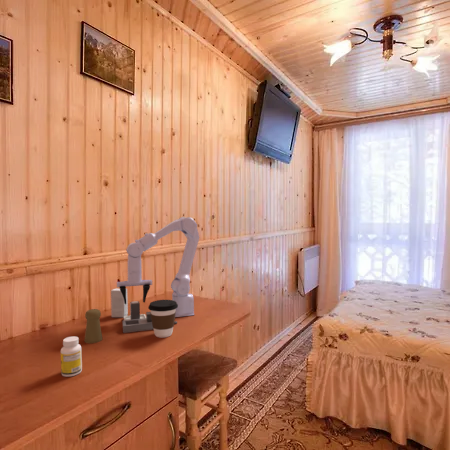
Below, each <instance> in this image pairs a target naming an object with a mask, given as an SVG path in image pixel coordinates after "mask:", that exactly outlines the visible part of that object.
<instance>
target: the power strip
mask: <svg viewBox="0 0 450 450" xmlns="http://www.w3.org/2000/svg"><path fill="white" fill-rule="evenodd" d="M145 313H146V314H145V315H146V318H142V319H133V320H124V319H123V320H122V332H123V334H126V333H127V334H128V333H134V332H143V331H150V330H154V329H153V326H152V320H151V314H150V313H151V311H146V312H145ZM177 324H178V321H177V320H175V321H174V325H177Z"/></svg>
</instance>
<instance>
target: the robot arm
mask: <svg viewBox="0 0 450 450" xmlns="http://www.w3.org/2000/svg"><path fill="white" fill-rule="evenodd" d="M197 223H198V222H196V220H195V219H194V218H193V217H190V216H187V217H185V216H182V217H179V218H177V219H175V220H173V221H171V222H169V223H168V224H167V225H165V226H164V227H162V228H161V229H159V230H158V231H156V232H154V233H152V232H149V233H147V232H146V233H144V235H143V236H142V237H140V238H139V239H135V240H134V242H131V243H129V244H128V245H127V247H126V249H125V250H126V253H127V280H124V281H117V282H116V288H119V289H120V291H121V293H122V295H123V298H124V303H125V304H126V289H127V287H137V286H138V287H139V286H142V291H143V293H142V303H146V299H147V295H148V292H149V290H150V288H151V286H153V280H152V279H142V277H143V276H142V272H143V271H142V268H143V267H142V255H143V253H144V252H146V251H149V249H151V248H152V247H154V246H155V245H158V241H159V240H160V239H162V238H163V237H166V236H167V235H169V234H171V233H172V232H175V231H179V232H182V233H183V234H184V236H185V238H186V242H185V246H184V250H183V253H182V258H181V261H180V265H179V268H178V272H177V273H176V274H175V277H174V279H173V280H172V281H171V283H170V288H171V290H172V291H173V292H172V294H171V296H172V298H171V300H173V301H176V302H177V304H178V308H176V314H175V318H179V317H180V318H181V317H187V316H188V317H189V316H195V300H194V295H193V294H192V293H190V290H191V286H190V283H191V279H190V273H191V270H192V267H193V263H194V259H195V255H196V252H197V248H198V244H199V240H200V235H199V229H198V224H197Z"/></svg>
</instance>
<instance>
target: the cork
mask: <svg viewBox="0 0 450 450" xmlns="http://www.w3.org/2000/svg"><path fill="white" fill-rule="evenodd" d="M84 315H85V316H84V317H85V319H86V326H85V331H84V332H85V334H84V341H83V342H84V343H86V344H96V343H99V342H102V341H103V334H102V328H101V321H100V318H101V316H102V315H101V311H100V309H98V308H92V309H88V310H86V311H85V314H84Z"/></svg>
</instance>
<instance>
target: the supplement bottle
mask: <svg viewBox="0 0 450 450" xmlns="http://www.w3.org/2000/svg"><path fill="white" fill-rule="evenodd" d="M62 340H63V341H62V345H63V346H62V347H61V349H60V369H61V370H60V374H61V376H62V377H67V378H68V377H74V376H78V375H79V374H81V372H82V370H83V360H82V359H83V358H82V346H81V344H79V340H80V339H79V337H78V336H67V337H65V338H64V339H62Z"/></svg>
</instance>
